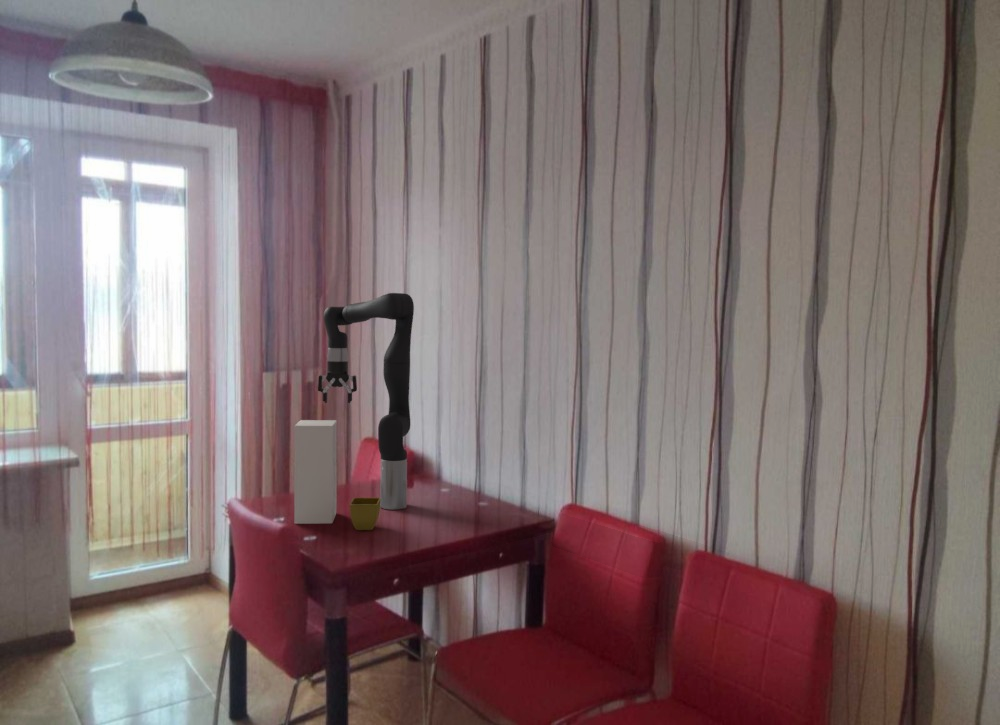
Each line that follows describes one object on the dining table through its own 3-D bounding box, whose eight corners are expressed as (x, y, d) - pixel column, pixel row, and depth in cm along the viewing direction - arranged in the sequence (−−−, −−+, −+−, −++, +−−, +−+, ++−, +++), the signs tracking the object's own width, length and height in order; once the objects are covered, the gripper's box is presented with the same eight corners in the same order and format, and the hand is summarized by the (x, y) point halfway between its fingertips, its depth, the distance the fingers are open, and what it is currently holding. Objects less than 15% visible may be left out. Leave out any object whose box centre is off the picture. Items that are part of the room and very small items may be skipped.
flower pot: (348, 532, 234) (349, 504, 234) (353, 524, 243) (353, 497, 242) (377, 532, 235) (377, 504, 234) (380, 524, 243) (381, 497, 243)
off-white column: (336, 513, 256) (336, 420, 253) (332, 523, 244) (332, 425, 241) (300, 513, 254) (300, 420, 252) (294, 523, 242) (294, 425, 240)
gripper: (357, 359, 286) (357, 401, 287) (319, 359, 284) (319, 401, 286) (356, 360, 278) (355, 404, 280) (316, 360, 277) (316, 404, 278)
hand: (337, 402), depth 283 cm, fingers open, 8 cm apart
